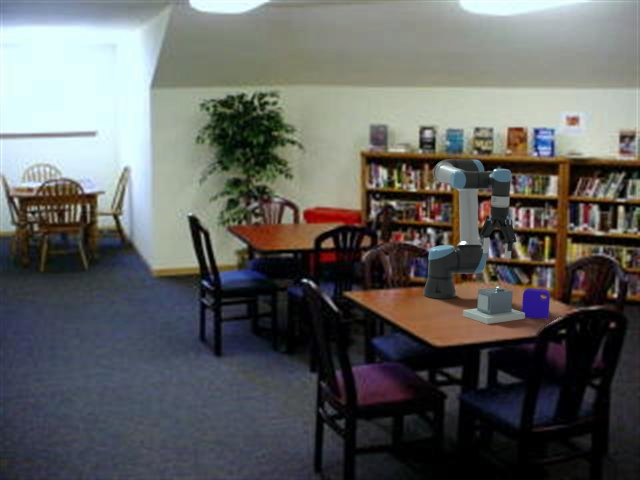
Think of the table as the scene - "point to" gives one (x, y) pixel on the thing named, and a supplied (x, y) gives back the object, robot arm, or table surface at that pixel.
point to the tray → (493, 316)
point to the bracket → (536, 303)
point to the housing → (494, 300)
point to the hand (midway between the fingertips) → (496, 255)
